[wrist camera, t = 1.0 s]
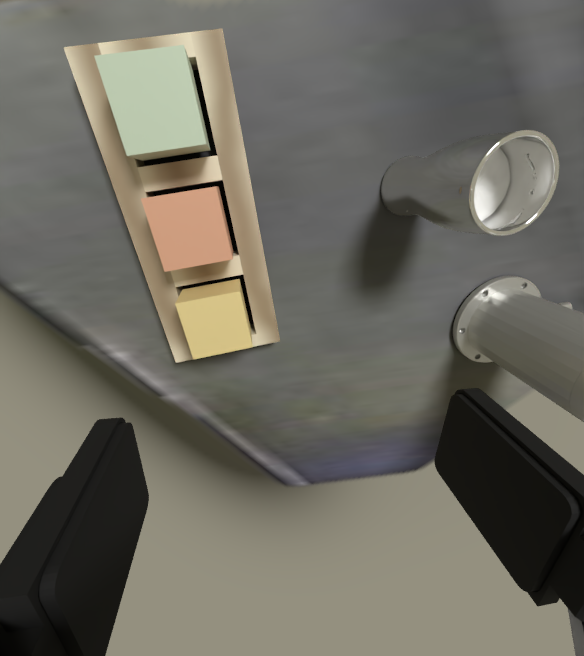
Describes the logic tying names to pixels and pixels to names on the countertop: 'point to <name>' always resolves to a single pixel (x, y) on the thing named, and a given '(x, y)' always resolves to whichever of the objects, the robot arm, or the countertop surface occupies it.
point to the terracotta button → (189, 228)
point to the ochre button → (214, 318)
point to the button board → (183, 181)
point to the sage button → (154, 102)
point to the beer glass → (477, 183)
